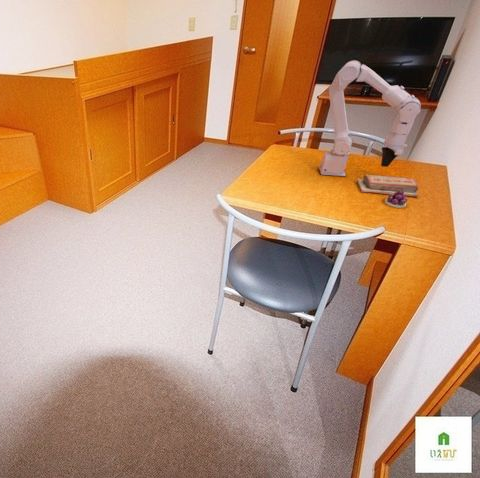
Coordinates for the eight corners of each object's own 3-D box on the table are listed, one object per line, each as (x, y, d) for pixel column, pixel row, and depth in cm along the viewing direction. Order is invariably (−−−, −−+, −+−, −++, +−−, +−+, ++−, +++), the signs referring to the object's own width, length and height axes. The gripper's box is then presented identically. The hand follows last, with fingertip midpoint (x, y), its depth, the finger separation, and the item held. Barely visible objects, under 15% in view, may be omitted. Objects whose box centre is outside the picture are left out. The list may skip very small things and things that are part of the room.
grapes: (387, 206, 117) (395, 190, 113) (382, 198, 121) (389, 182, 118) (408, 208, 115) (417, 192, 111) (402, 200, 119) (410, 184, 116)
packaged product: (414, 175, 125) (423, 186, 118) (408, 186, 128) (417, 197, 120) (360, 171, 131) (365, 181, 123) (356, 182, 134) (361, 192, 126)
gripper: (418, 139, 116) (402, 173, 124) (405, 127, 127) (390, 160, 135) (395, 138, 119) (380, 172, 126) (384, 126, 129) (371, 158, 137)
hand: (384, 165), depth 131 cm, fingers closed
